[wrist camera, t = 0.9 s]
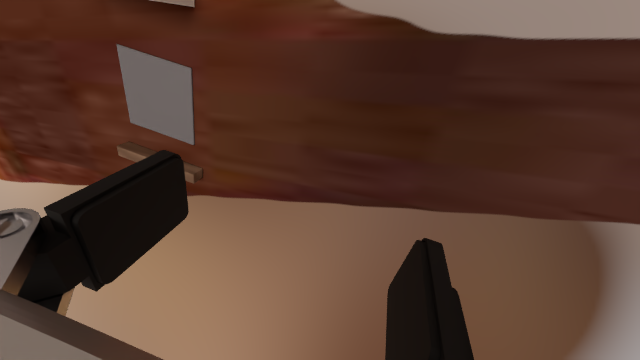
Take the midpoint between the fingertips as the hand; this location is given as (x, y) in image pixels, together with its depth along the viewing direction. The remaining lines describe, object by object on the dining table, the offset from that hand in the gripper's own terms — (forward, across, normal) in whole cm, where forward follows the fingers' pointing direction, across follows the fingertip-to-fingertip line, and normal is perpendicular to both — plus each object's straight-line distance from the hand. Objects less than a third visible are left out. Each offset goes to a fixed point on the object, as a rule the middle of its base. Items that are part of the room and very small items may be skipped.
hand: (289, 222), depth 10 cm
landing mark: (+28, +33, +10) cm, 44 cm away
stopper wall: (+28, +33, +22) cm, 48 cm away
